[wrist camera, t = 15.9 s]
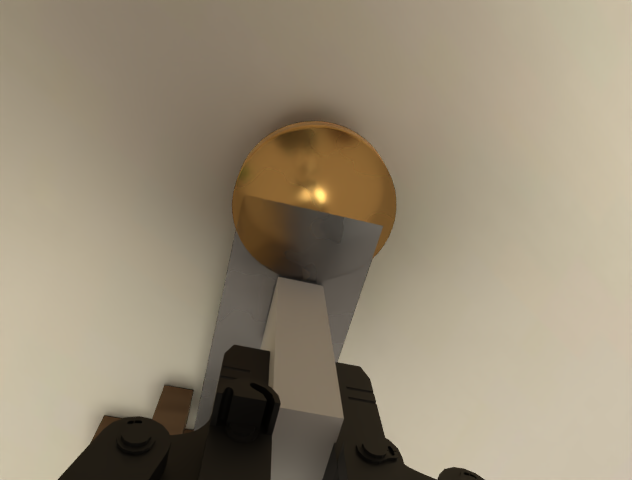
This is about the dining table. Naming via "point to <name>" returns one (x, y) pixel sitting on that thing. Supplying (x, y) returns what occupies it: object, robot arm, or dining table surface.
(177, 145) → the dining table surface
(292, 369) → the robot arm
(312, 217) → the bar
